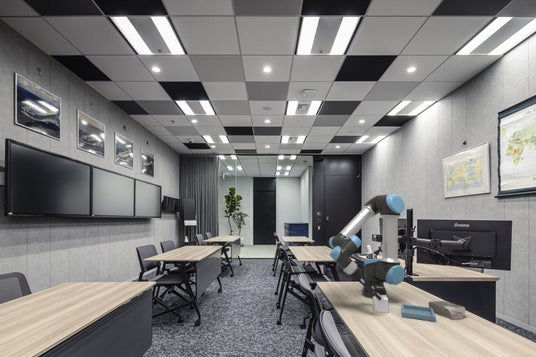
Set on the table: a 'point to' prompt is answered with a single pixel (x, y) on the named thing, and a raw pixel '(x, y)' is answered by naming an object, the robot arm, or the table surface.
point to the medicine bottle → (376, 304)
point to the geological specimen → (448, 310)
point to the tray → (418, 312)
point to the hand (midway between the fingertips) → (382, 300)
